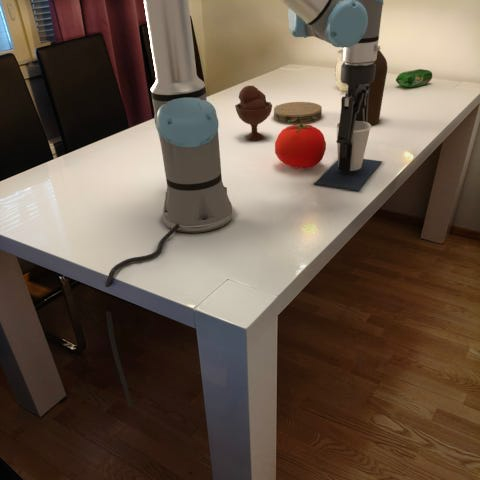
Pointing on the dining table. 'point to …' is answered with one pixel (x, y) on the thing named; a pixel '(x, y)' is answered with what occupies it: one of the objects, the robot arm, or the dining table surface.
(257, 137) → the ice cream bowl
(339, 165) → the robot arm
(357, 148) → the dixie cup
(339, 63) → the pitcher
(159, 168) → the dining table surface
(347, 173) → the placemat
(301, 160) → the tomato
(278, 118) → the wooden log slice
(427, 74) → the snack package
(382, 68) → the olive oil
